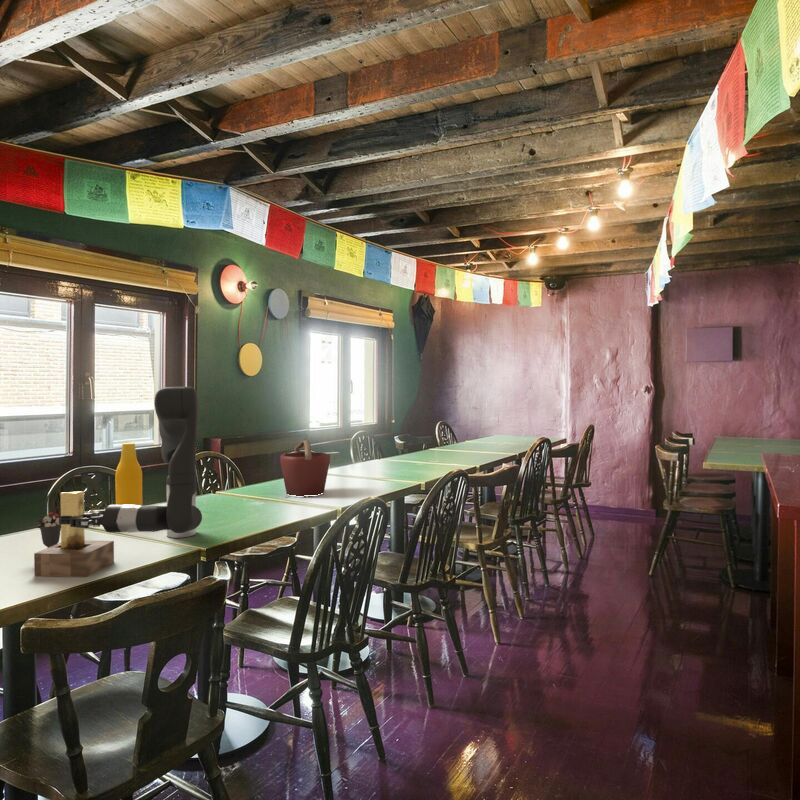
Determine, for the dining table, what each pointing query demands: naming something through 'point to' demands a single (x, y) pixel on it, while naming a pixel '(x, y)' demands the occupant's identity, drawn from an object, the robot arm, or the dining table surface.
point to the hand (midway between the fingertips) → (65, 518)
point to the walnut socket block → (74, 559)
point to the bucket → (304, 470)
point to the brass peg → (69, 535)
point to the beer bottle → (128, 477)
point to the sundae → (50, 529)
